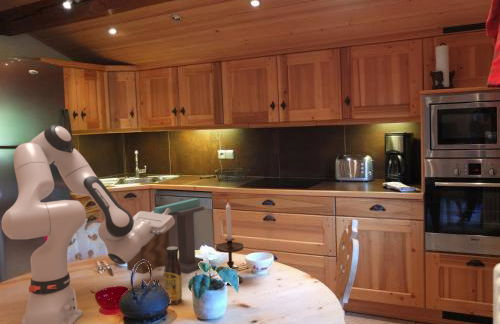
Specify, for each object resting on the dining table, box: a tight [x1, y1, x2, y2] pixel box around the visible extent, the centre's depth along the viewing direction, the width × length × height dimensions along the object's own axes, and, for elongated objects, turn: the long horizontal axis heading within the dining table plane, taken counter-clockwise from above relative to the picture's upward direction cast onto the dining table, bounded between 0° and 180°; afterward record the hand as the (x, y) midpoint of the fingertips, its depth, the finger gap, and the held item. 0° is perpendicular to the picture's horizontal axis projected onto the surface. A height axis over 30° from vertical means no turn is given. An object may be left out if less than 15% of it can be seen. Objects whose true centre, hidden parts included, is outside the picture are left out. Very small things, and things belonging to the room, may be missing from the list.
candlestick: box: [215, 195, 245, 287], centre depth 180 cm, size 11×11×35 cm
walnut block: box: [126, 229, 170, 274], centre depth 203 cm, size 16×10×18 cm, turn 142°
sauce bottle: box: [163, 245, 183, 305], centre depth 163 cm, size 6×6×20 cm
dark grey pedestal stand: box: [164, 205, 205, 275], centre depth 201 cm, size 14×14×26 cm
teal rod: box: [153, 198, 201, 214], centre depth 196 cm, size 24×3×3 cm, turn 142°
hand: (165, 208), depth 191 cm, fingers closed on teal rod, 3 cm apart
